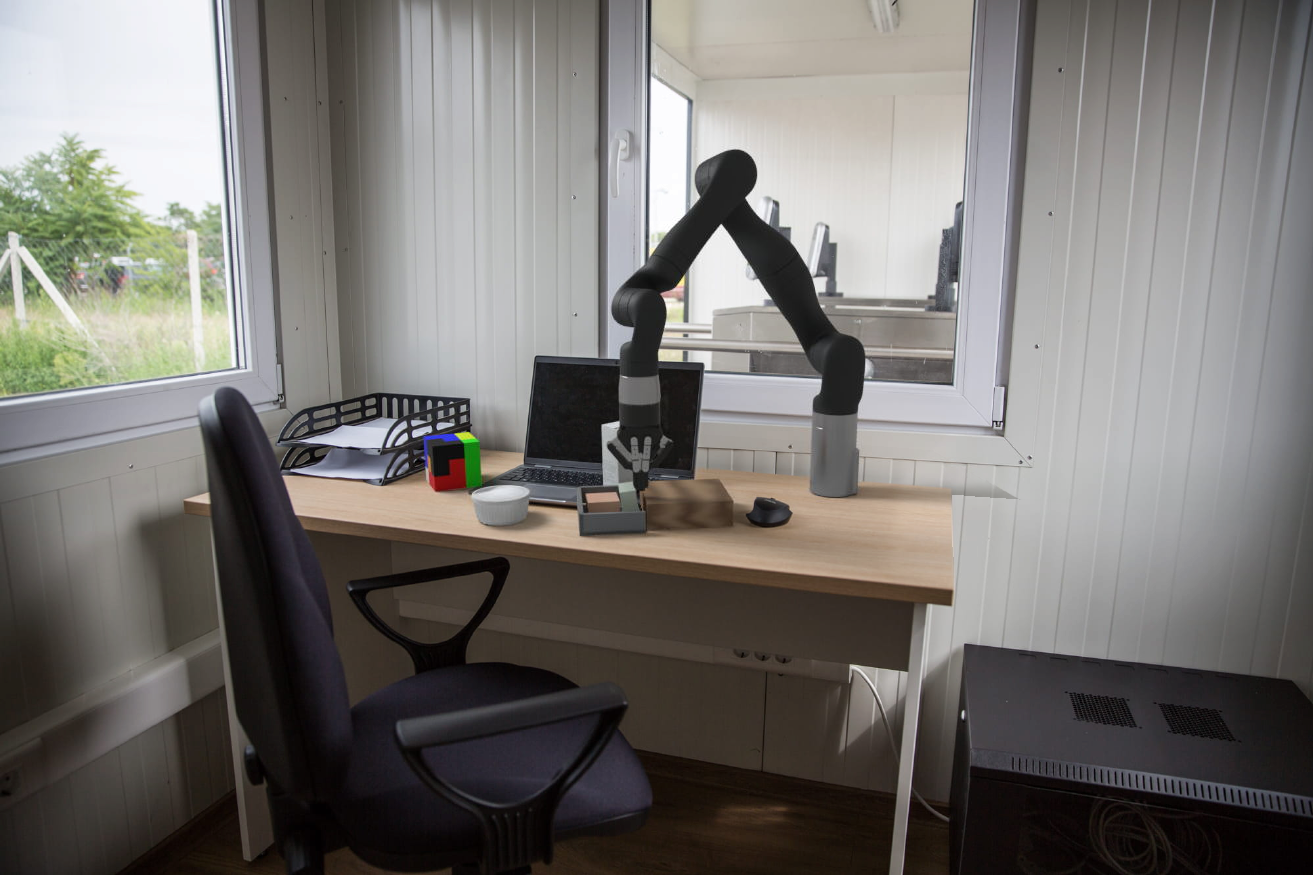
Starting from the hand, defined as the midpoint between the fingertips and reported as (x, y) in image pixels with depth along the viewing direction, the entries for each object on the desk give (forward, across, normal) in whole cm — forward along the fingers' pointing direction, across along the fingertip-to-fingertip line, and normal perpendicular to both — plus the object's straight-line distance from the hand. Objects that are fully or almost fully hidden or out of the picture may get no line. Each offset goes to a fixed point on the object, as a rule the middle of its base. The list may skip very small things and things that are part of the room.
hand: (640, 489), depth 163 cm
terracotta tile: (+3, +7, -5) cm, 9 cm away
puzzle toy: (+7, +38, -32) cm, 50 cm away
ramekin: (+7, +26, -6) cm, 28 cm away
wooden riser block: (+6, -9, -3) cm, 11 cm away
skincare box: (+7, +1, -21) cm, 22 cm away
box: (+6, +6, -3) cm, 9 cm away
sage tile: (+2, +1, -1) cm, 3 cm away
